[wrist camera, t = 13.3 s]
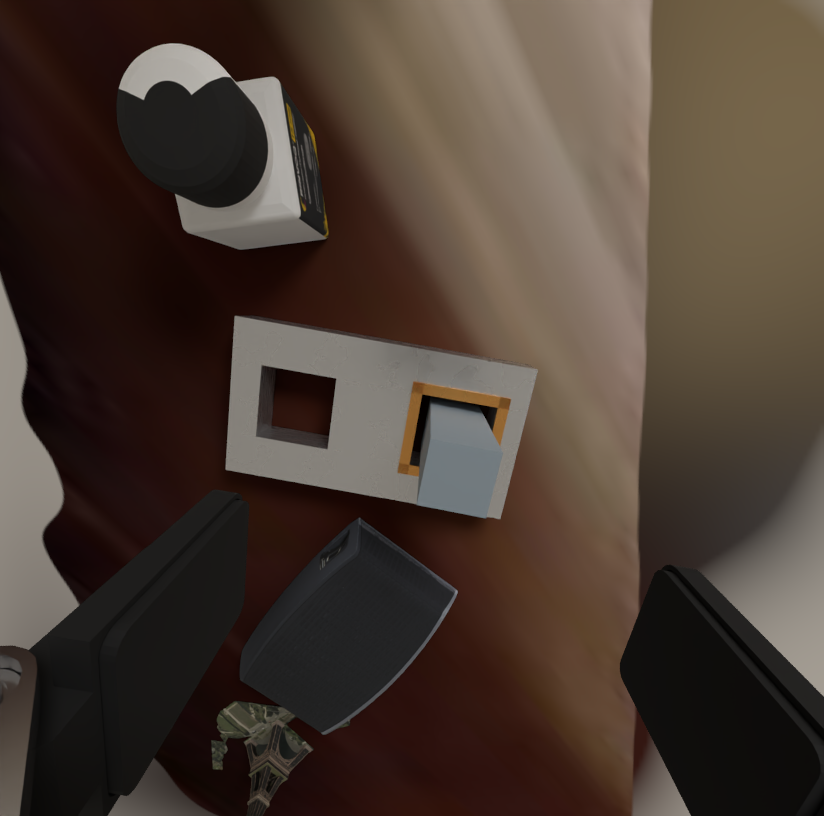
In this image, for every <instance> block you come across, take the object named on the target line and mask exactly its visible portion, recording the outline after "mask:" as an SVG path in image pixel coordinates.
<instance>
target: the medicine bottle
mask: <svg viewBox="0 0 824 816" xmlns="http://www.w3.org/2000/svg"><path fill="white" fill-rule="evenodd" d="M116 109H117V122H118V127H119V132H120V135H121V139H122V142H123V144H124V146H125V149H126V151H127V153H128V154H129V156H130V158H131V160H132V161H133V162H134V164H135V165H136V166H137V168H138V169H139V170H140V171H141V172H142V173H143V174H144V175H145V176H146V177H147V178H148V179H150V180H151V181H152V182H153V183H155V184H157V185H158V186H160V187H162V188H164V189H166V190H168V191H170V192H173V193H175V196H176V200H177V205H178V209H179V213H180V218H181V222H182V227H183V229H184V230H185V231H186V232H188V233H190V234H193V235H196V236H199V237H202V238H205V239H209V240H212V241H215V242H218V243H221V244H224V245H227V246H230V247H233V248H236V249H239V250H244V249H252V248H260V247H268V246H276V245H284V244H292V243H300V242H308V241H316V240H324V239H326V238H328V234H329V233H328V226H327V219H326V212H325V205H324V199H323V192H322V185H321V178H320V171H319V164H318V157H317V150H316V144H315V137H314V134H313V132H312V130H311V129H310V127H309V126H308V124H307V123H306V121H305V120H304V118H303V117H302V115H301V113H300V112H299V110H298V109H297V107H296V106H295V104H294V103H293V101H292V100H291V98H290V97H289V95H288V94H287V92H286V91H285V89H284V88H283V86H282V85H281V83H280V81H279V80H278V79H277V78H275V77H266V78H259V79H253V80H246V81H240V82H235V81H234V80H233V78H232V77H231V76H230V75H229V74H228V73H227V71H226V70H225V69H224V68H223V67H222V66H221V65H220V64H219V63H218V62H217V61H216V60H215V59H213V58H212V57H211V56H210V55H208V54H206V53H205V52H203V51H201V50H199V49H197V48H194V47H192V46H188V45H184V44H173V43H171V44H163V45H159V46H156V47H153V48H151V49H149V50H147V51H145V52H144V53H142V54H141V55H140V56H138V57H137V58H136V59H135V60H134V61H133V62H132V63H131V64H130V66H129V67H128V69H127V70H126V72H125V74H124V76H123V78H122V80H121V83H120V86H119V90H118V95H117V107H116Z"/></svg>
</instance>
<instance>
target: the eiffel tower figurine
mask: <svg viewBox="0 0 824 816" xmlns="http://www.w3.org/2000/svg"><path fill="white" fill-rule="evenodd" d="M296 717H297V716H295V715H294V714H292V713H291V712H289V711H287V710H286V709H285V708H283V707H278V706H270V705H262V704H254V703H247V702H240V701H234V702H233V703H232V704H230V705H229V706H228V707H227V708H225V709H224V710H222V711H220V713H219V715H218V718H217V723H218V727H217V728H218V730H219V731H220V732H221V735H220V736H221V738H222V739H223V741H224V742H220V741H214V740H211V742H212V760H213V769H222V770H223V768H222V761H221V760H222V759H223V757H224V756H223V755H222V754H225V753H226V752H227V750H228V749H227V746H226V744H225V742H226V740H227V738H242V737H247V736H251V737H250V738H249V739H247V740H246V741H244V743H245V745H246V747H247V752H248V757H249V761H250V766H251V770H250V773H249V776H250V777H251V778H252V783H251V794H250V801H249V802H248V805H249V807H248V813H247V816H262V815H263V813H264V811H265V809H266V808H267V807H269V802H270V800H271V798H272V797H273V795H274V793H275V792H276V790H277V788H278V787H279V785H280V784H281V783H282V782H284V781H285V780H287V779H288V775H289V772H290V771H291V770H292V769H293V768H294V767H295V766H296V765H297V764H298V763H299V762H300V761H301V760H302V759H303V758H304V757H305V756H306V755H307V754H308V753H309V752H311V751H312V750H314V749H313V748H312V747H311V746H310V745H309V744H307V743H306V742H305V741H304V740H303V739H302V738H301V737H300V736H298V735H297V734H296V733H295V732H294V731H293V730H292V729H290V728H289V727H288V726H287V724H288V723H289V722H290V721H291V720H293V719H295V718H296ZM349 725H350V720H348V721H347V722H345V723H344V724H342V725H341V726H339V727H338V728H342V727H345V726H349ZM336 729H337V728H336ZM257 754H258V755H259V757H258V756H257Z"/></svg>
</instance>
